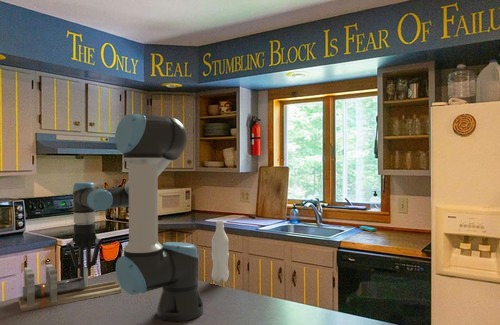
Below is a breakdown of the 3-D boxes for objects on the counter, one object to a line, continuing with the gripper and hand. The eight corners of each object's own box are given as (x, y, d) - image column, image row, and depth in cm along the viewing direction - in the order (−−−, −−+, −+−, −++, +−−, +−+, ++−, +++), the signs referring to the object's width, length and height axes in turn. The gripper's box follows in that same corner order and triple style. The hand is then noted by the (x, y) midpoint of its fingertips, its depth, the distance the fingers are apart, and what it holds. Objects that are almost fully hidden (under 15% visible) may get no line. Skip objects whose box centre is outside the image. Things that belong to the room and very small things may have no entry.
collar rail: (121, 292, 154) (121, 262, 153) (21, 312, 135) (21, 277, 135) (112, 284, 164) (112, 255, 164) (18, 301, 145) (18, 268, 145)
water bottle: (220, 277, 172) (219, 219, 172) (232, 280, 168) (232, 221, 167) (208, 281, 167) (207, 221, 166) (220, 285, 162) (220, 223, 162)
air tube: (82, 289, 154) (81, 275, 154) (85, 292, 150) (84, 278, 150) (22, 299, 143) (22, 285, 143) (23, 303, 139) (23, 288, 139)
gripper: (99, 220, 159) (100, 279, 159) (64, 223, 152) (65, 285, 152) (104, 222, 153) (105, 284, 153) (67, 226, 145) (68, 291, 146)
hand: (85, 284), depth 152 cm, fingers closed
